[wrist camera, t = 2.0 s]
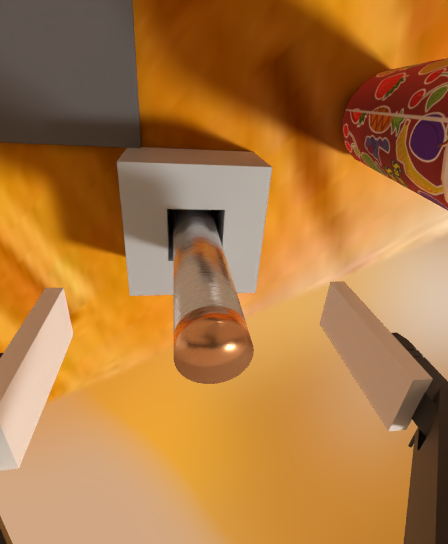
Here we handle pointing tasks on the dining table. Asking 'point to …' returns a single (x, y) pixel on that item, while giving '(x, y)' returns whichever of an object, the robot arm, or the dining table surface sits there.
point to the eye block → (191, 195)
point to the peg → (205, 303)
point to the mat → (68, 73)
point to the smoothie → (403, 127)
